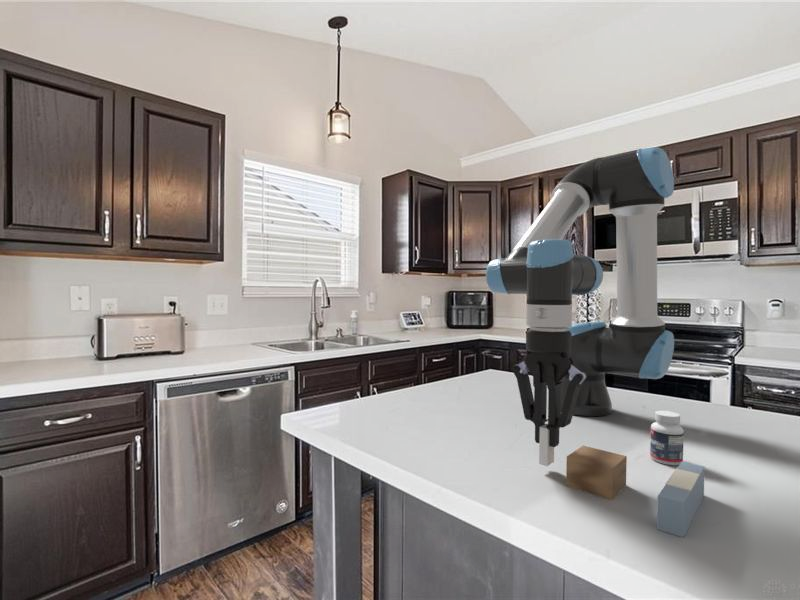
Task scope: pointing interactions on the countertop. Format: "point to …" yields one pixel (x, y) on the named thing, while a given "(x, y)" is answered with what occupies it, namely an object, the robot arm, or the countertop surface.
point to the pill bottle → (667, 438)
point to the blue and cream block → (680, 498)
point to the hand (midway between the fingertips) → (546, 462)
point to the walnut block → (596, 472)
